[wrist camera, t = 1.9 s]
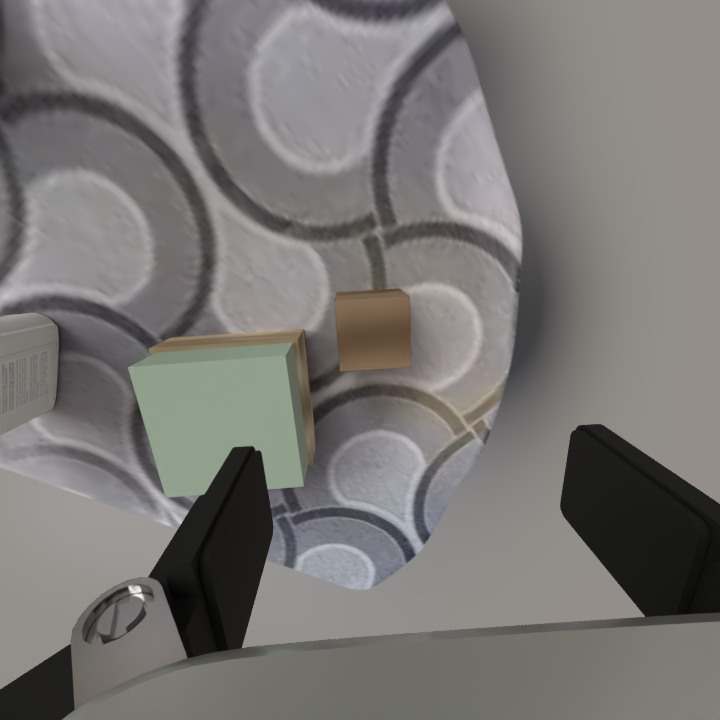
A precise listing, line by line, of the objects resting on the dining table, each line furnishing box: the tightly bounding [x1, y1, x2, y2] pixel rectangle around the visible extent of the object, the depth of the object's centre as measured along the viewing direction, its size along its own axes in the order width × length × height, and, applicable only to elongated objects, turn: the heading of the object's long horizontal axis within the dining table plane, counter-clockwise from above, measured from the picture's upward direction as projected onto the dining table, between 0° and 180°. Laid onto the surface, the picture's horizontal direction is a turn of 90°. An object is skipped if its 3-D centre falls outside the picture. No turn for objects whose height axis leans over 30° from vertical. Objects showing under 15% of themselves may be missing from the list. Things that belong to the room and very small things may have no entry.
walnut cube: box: [335, 289, 410, 372], centre depth 31 cm, size 6×6×6 cm
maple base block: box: [149, 329, 316, 466], centre depth 34 cm, size 13×13×4 cm
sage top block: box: [128, 342, 309, 498], centre depth 29 cm, size 12×12×4 cm
